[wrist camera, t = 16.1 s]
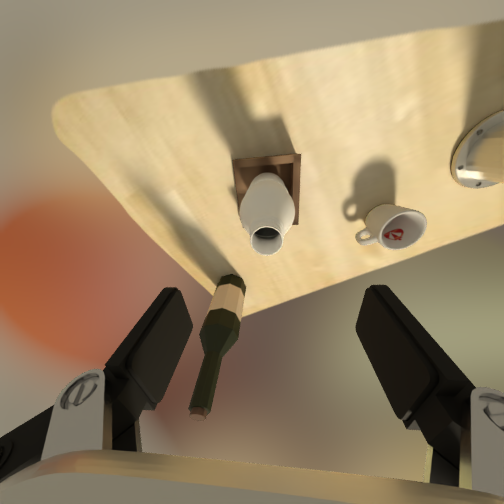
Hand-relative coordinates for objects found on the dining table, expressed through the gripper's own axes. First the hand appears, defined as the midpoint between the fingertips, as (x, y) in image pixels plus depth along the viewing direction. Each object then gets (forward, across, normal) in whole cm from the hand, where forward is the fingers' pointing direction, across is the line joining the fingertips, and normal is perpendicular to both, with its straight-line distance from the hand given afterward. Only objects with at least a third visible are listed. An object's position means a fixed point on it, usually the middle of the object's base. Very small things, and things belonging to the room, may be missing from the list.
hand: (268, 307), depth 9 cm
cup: (+34, -23, +9) cm, 42 cm away
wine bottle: (+34, +12, +26) cm, 45 cm away
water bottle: (+33, 0, 0) cm, 33 cm away
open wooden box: (+34, +1, 0) cm, 34 cm away
